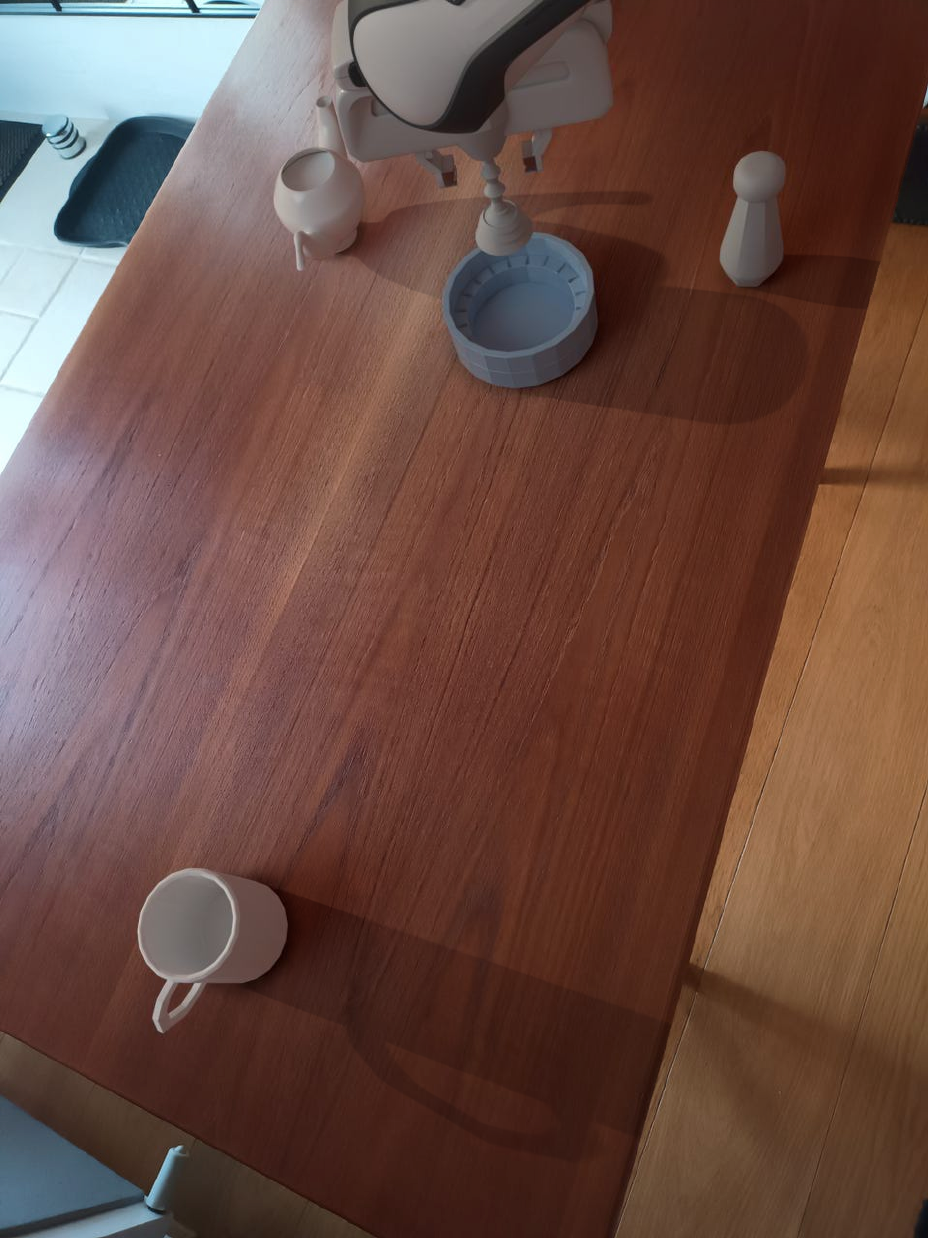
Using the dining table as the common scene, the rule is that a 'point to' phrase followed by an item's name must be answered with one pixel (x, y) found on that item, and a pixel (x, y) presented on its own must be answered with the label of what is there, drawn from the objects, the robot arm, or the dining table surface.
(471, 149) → the chalice
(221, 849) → the dining table surface
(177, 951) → the mug
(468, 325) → the bowl
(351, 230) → the teapot
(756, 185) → the salt shaker
